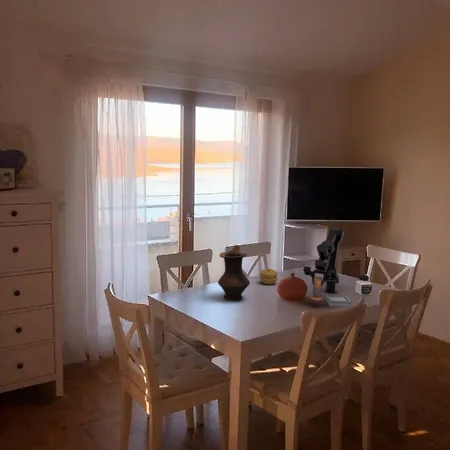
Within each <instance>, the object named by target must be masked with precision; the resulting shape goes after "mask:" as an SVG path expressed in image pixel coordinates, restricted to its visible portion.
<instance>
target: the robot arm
mask: <svg viewBox="0 0 450 450" xmlns="http://www.w3.org/2000/svg"><path fill="white" fill-rule="evenodd" d="M344 236H345V232H344V230H341V229H339V228H338V227H337V228H336V227H330V228H329V230H328V234H327V236H326V239H325V240H323V241H322V242H321V243H320V244H318V245H316V252H317V255H318V259H315V260H314V268H312V266H307V265H305V266H303V269H302V270H303V274H304V275H306V276H310V277H311V281H312V286H314V277H316V274H317V275H318V274H319V275H323V277H322V282H321V286H322V287H323V285H324V284H325V283H326V284H325V289H323V291H324V292H326V294H331V293H333V294H334V293H335V294H336V293H338V291H337V290H336V286H337V285H336V284H339V283H340V277H339V273H338V269H337V261H338V253H339V246H340V244H341V243H342V242H343V238H344Z"/></svg>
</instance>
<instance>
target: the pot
mask: <svg viewBox="0 0 450 450" xmlns="http://www.w3.org/2000/svg"><path fill="white" fill-rule="evenodd" d="M278 274H279V273H278V271H276V270H274V269H270V268H264V269H262V270H261V271H260V272H259V275H260V276H258V277H259V280H260V282H261V283H262V284H264V285H273V284H274V285H275V284H276V282H277V281H278Z"/></svg>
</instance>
